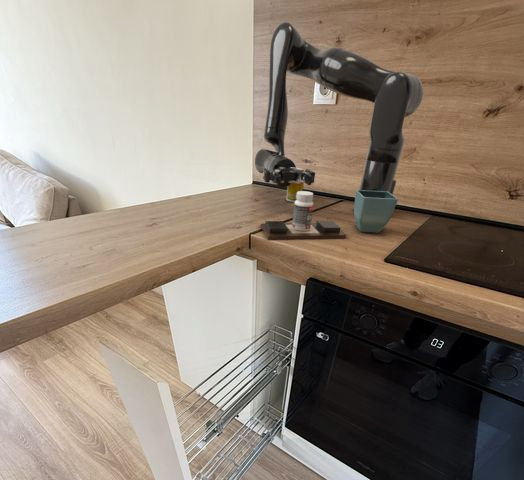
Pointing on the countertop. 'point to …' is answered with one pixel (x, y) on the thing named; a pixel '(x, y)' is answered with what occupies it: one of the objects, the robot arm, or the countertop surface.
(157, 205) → the countertop surface
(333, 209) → the countertop surface
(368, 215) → the flower pot
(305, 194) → the pill bottle
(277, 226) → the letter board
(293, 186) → the supplement bottle
